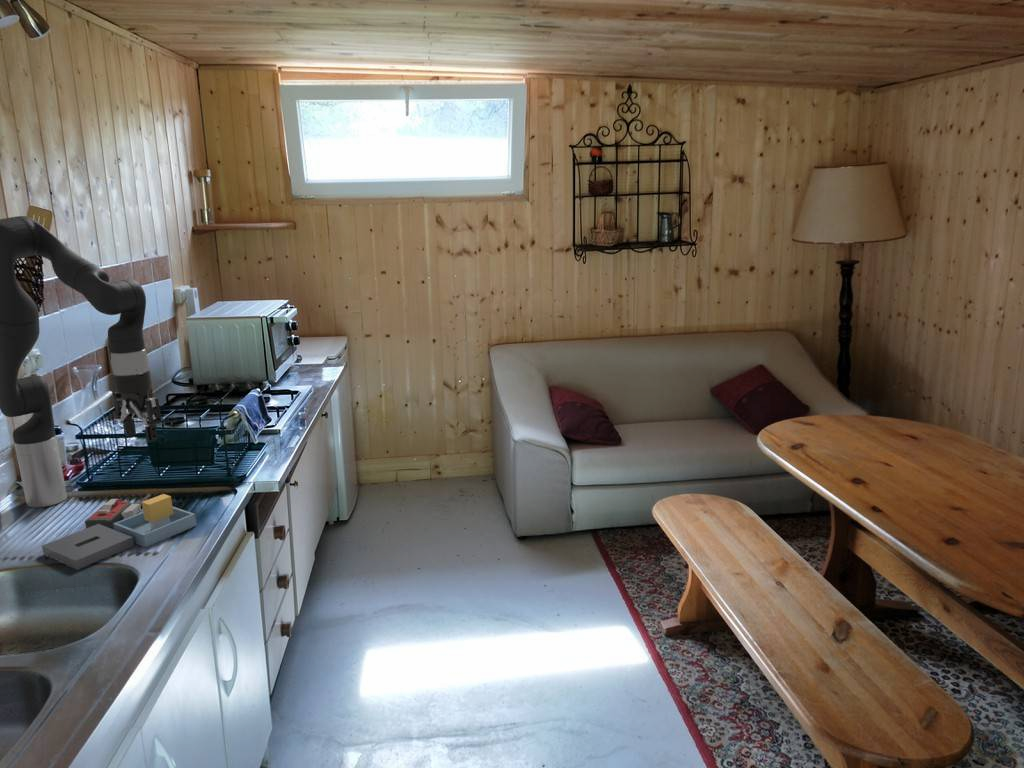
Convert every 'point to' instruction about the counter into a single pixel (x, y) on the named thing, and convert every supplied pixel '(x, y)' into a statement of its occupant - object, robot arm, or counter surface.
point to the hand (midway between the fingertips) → (141, 438)
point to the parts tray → (147, 537)
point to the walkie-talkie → (114, 512)
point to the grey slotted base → (88, 546)
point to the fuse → (158, 511)
